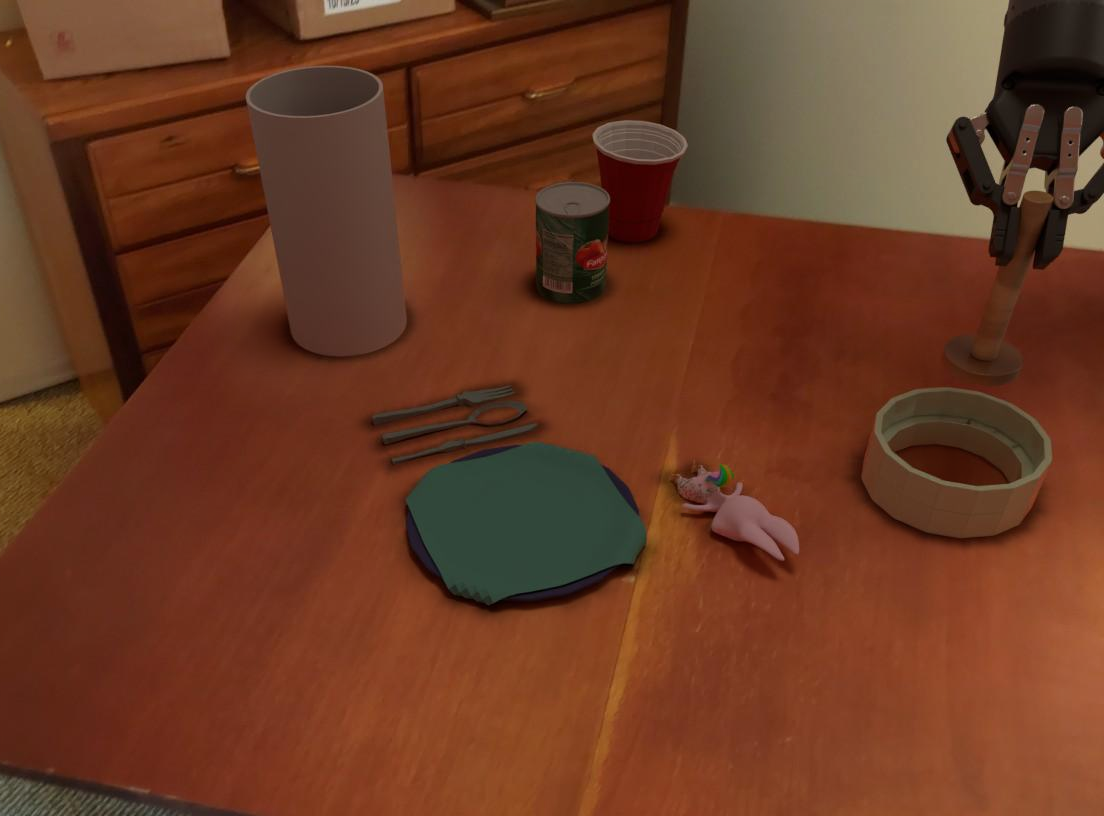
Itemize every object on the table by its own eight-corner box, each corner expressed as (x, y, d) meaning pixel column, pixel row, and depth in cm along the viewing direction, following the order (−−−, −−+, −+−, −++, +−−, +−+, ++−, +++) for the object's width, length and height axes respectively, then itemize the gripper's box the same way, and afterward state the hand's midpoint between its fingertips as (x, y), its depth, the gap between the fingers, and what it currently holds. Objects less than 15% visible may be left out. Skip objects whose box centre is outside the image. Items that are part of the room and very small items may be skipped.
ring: (903, 422, 101) (919, 369, 97) (1053, 482, 94) (1077, 427, 90) (831, 498, 94) (845, 444, 89) (988, 568, 87) (1011, 513, 83)
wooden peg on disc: (959, 336, 88) (1013, 170, 78) (1031, 361, 86) (1096, 192, 76) (928, 368, 85) (980, 200, 75) (1001, 395, 83) (1065, 224, 72)
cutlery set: (450, 643, 83) (448, 623, 81) (352, 429, 103) (348, 410, 101) (679, 576, 87) (681, 556, 86) (542, 384, 107) (542, 364, 105)
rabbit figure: (652, 505, 96) (758, 587, 85) (651, 447, 92) (761, 525, 81) (709, 483, 98) (820, 561, 86) (710, 425, 94) (825, 498, 83)
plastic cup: (676, 261, 124) (686, 158, 115) (584, 256, 125) (587, 154, 117) (680, 217, 131) (690, 118, 123) (593, 213, 133) (596, 115, 124)
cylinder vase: (391, 367, 110) (362, 120, 92) (276, 358, 112) (225, 114, 94) (419, 305, 118) (397, 68, 101) (312, 297, 120) (272, 63, 102)
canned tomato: (536, 274, 122) (535, 181, 115) (604, 274, 122) (609, 180, 114) (535, 311, 117) (534, 215, 109) (606, 310, 117) (611, 214, 109)
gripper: (974, -9, 74) (934, 239, 75) (1189, 1, 72) (1147, 257, 72) (948, 46, 81) (913, 271, 82) (1143, 56, 79) (1105, 289, 79)
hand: (1023, 263), depth 77 cm, fingers closed on wooden peg on disc
